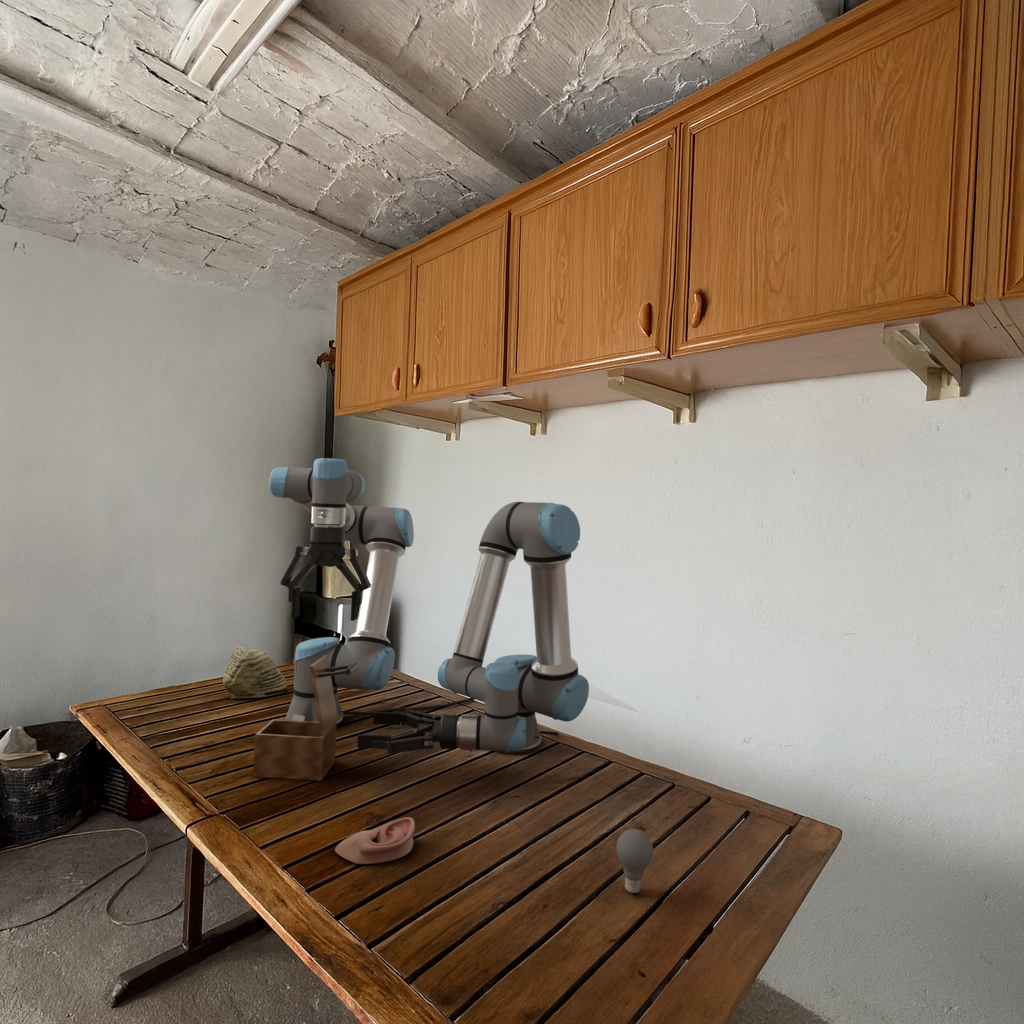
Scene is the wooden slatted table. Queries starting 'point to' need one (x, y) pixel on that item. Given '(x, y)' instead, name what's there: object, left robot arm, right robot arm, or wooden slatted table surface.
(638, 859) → the light bulb
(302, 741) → the chest
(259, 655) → the fossil
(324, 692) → the lid
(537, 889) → the wooden slatted table surface
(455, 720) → the right robot arm
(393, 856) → the anatomical model
